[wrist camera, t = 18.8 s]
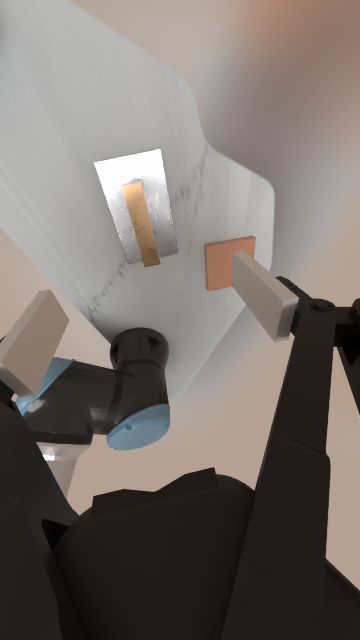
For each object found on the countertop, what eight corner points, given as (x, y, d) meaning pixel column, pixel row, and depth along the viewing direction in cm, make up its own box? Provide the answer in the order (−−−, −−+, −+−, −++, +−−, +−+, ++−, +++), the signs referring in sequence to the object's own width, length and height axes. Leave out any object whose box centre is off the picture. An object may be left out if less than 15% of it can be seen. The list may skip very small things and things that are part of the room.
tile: (251, 235, 42) (247, 279, 48) (204, 243, 41) (206, 287, 48) (255, 237, 41) (250, 282, 47) (206, 246, 40) (207, 290, 46)
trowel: (177, 251, 41) (187, 275, 33) (128, 262, 41) (125, 288, 33) (159, 149, 31) (167, 145, 23) (95, 162, 31) (78, 163, 23)
